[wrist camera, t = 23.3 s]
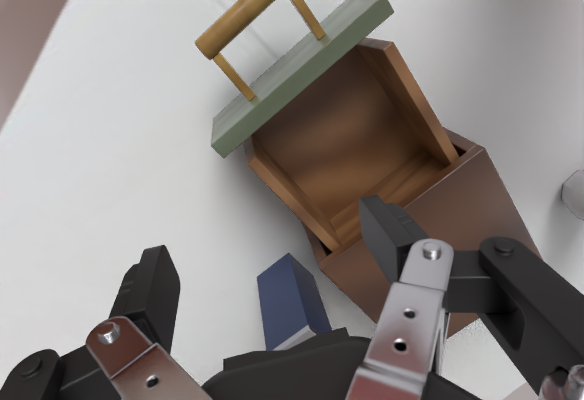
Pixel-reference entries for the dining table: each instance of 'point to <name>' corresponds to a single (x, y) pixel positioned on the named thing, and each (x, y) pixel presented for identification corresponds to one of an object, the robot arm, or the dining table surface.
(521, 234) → the cabinet
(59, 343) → the dining table surface
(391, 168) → the drawer
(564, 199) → the salt shaker
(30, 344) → the dining table surface
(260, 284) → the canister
